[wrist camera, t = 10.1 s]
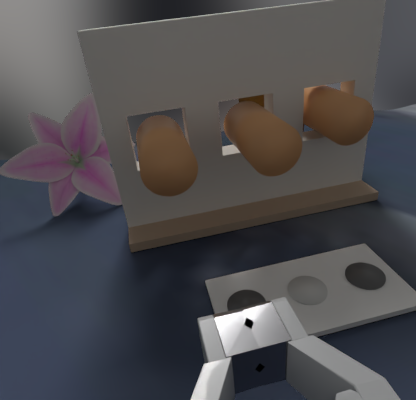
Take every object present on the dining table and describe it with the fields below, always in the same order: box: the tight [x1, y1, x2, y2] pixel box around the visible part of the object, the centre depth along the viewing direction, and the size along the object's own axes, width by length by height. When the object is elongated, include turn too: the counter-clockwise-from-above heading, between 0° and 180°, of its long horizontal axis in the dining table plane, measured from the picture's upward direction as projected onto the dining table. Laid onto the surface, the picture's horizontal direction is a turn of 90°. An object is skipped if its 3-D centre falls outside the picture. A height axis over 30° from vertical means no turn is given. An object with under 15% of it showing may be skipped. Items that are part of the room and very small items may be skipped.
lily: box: [0, 93, 135, 217], centre depth 36 cm, size 12×12×10 cm
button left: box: [136, 115, 198, 196], centre depth 24 cm, size 4×6×4 cm, turn 13°
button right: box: [303, 85, 374, 146], centre depth 28 cm, size 4×6×4 cm, turn 12°
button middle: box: [224, 101, 302, 176], centre depth 25 cm, size 4×6×4 cm, turn 13°
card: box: [205, 243, 416, 337], centre depth 22 cm, size 12×6×1 cm, turn 103°
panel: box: [77, 0, 386, 252], centre depth 28 cm, size 22×7×16 cm, turn 103°
